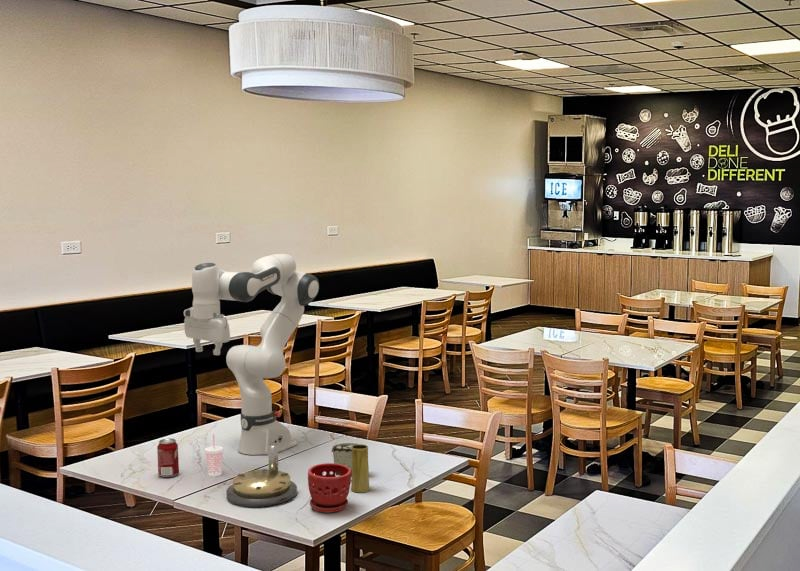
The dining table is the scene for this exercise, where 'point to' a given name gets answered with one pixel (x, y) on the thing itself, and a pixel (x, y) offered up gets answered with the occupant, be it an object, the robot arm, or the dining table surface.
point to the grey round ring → (261, 502)
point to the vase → (360, 469)
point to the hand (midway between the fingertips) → (207, 353)
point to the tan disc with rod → (263, 479)
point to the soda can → (168, 458)
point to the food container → (343, 455)
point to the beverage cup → (214, 459)
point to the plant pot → (329, 487)
